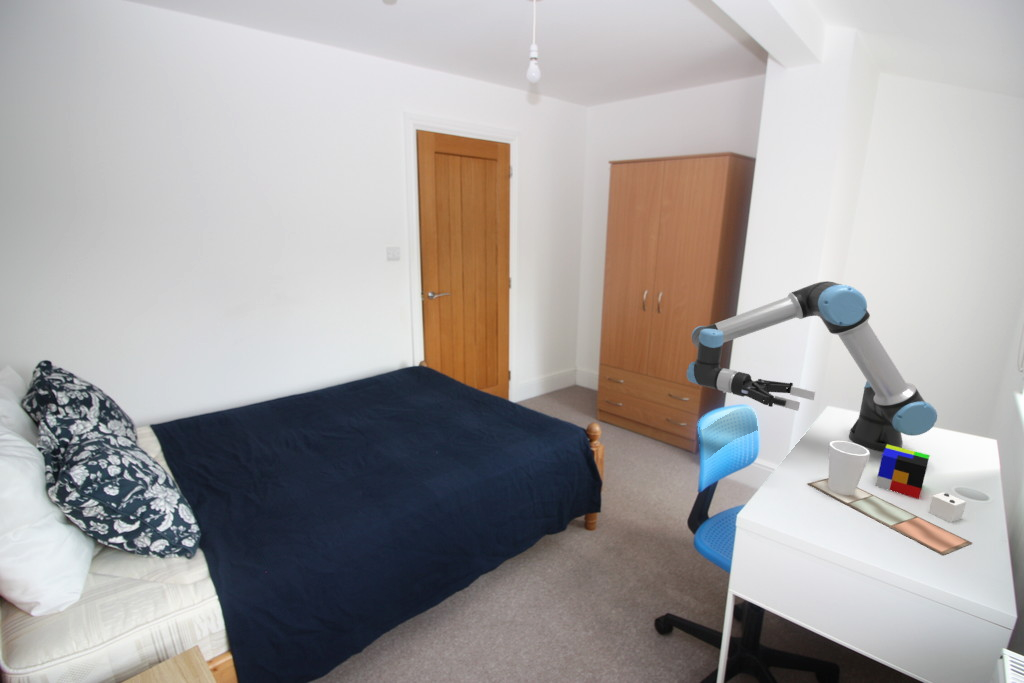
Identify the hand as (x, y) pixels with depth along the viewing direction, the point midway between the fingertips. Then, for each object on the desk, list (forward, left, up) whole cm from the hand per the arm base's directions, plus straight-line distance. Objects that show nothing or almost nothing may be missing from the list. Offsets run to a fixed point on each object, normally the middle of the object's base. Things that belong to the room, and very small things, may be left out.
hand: (806, 400), depth 145 cm
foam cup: (-3, +12, -23) cm, 26 cm away
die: (-17, +31, -24) cm, 42 cm away
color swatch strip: (-3, +23, -23) cm, 33 cm away
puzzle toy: (-22, +17, -24) cm, 37 cm away
